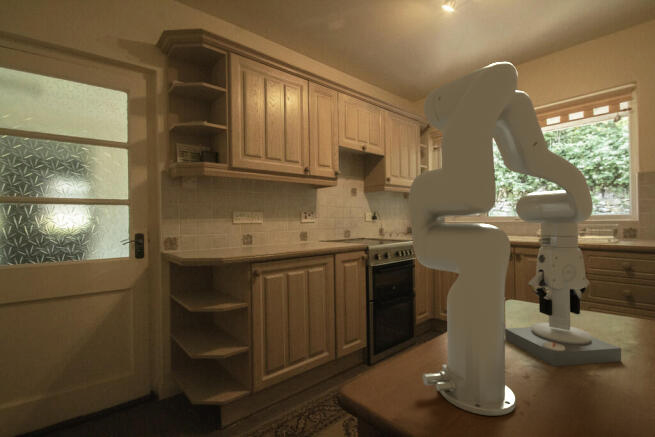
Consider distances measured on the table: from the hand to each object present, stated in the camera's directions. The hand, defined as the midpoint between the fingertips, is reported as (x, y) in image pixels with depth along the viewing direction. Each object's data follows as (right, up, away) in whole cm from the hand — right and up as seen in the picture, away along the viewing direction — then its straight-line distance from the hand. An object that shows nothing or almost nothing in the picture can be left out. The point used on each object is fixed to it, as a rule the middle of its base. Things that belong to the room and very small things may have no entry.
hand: (559, 312), depth 77 cm
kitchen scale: (-2, -9, -2) cm, 9 cm away
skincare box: (0, -3, 0) cm, 3 cm away
